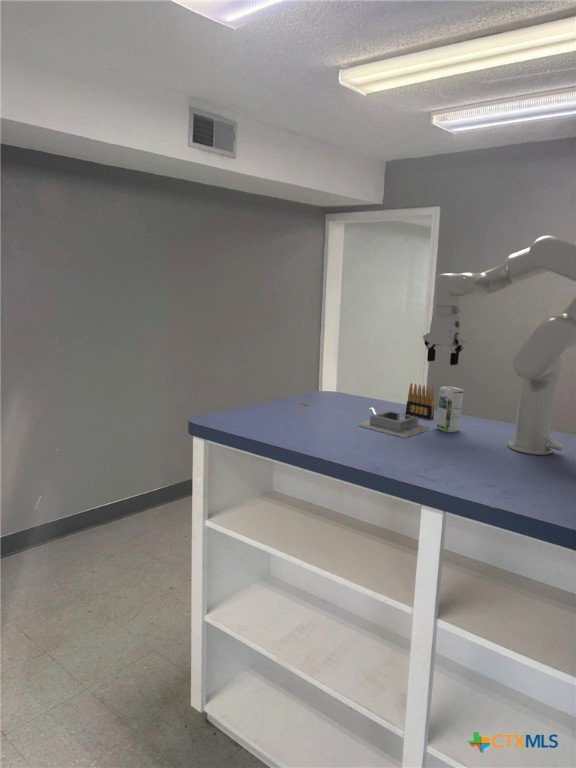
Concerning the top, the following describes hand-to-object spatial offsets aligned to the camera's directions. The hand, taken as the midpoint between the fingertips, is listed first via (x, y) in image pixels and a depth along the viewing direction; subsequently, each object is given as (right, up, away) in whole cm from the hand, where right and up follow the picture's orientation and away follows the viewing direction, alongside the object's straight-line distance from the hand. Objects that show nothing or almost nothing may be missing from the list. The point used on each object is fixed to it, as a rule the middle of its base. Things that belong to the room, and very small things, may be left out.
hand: (442, 362), depth 179 cm
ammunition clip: (-3, -19, +18) cm, 27 cm away
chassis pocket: (-16, -22, +1) cm, 27 cm away
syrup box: (+2, -23, +1) cm, 23 cm away
